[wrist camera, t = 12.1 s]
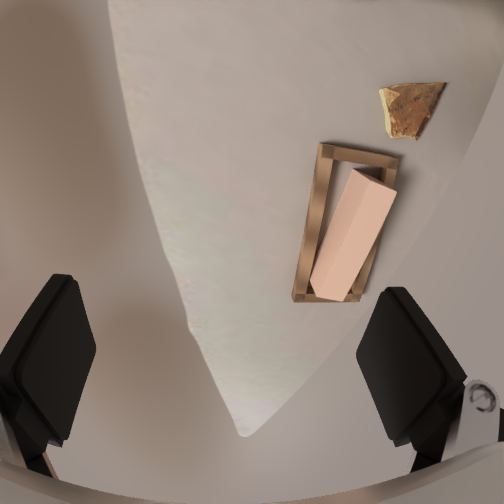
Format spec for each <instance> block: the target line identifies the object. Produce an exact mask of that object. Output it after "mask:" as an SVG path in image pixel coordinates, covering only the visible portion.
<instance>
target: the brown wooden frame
mask: <svg viewBox="0 0 504 504" xmlns="http://www.w3.org/2000/svg"><path fill="white" fill-rule="evenodd" d="M333 159H335V160H342V161H348V162H354V163H360V164H366V165H372V166H378V167H381V171H380V175H379V180H380V181H382V182H383V183H385V184H386V185H388V186H389V187H391V188H392V189H393V185H394V181H395V177H396V172H397V168H398V163H399V159H398V158H396V157H394V156H390V155H385V154H380V153H375V152H370V151H365V150H360V149H354V148H348V147H343V146H336V145H330V144H323V143H319V145H318V152H317V159H316V165H315V171H314V177H313V184H312V190H311V196H310V201H309V207H308V213H307V219H306V224H305V230H304V235H303V240H302V246H301V251H300V256H299V261H298V266H297V271H296V276H295V281H294V286H293V291H292V299H293V302H341V301H336V300H330V299H325V298H320V297H316V294H315V292H314V290H313V288H309V287H307V286H308V282H309V278H310V273H311V269H312V265H313V260H314V255H315V251H316V246H317V241H318V237H319V232H320V227H321V222H322V217H323V212H324V207H325V201H326V196H327V191H328V185H329V180H330V174H331V168H332V162H333ZM384 221H385V220H384ZM383 225H384V222H383ZM383 225H382V227H381V229H380V231H379V233H378V235H377V237H376V239H375V241H374V243H373V245H372V247H371V249H370V251H369V253H368V255H367V257H366V259H365V261H364V263H363V265H362V267H361V269H360V271H359V273H358V275H357V276H356V278H355V280H354V282H353V284H352V286H351V288H350V289H349V291H348V293H347V295H346V297H345V298H344V300H343V302H359V301H360V298H361V296H362V293H363V290H364V287H365V284H366V281H367V278H368V275H369V272H370V269H371V266H372V262H373V259H374V256H375V253H376V249H377V246H378V243H379V239H380V236H381V232H382V229H383Z"/></svg>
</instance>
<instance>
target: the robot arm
mask: <svg viewBox="0 0 504 504" xmlns="http://www.w3.org/2000/svg"><path fill="white" fill-rule="evenodd" d="M95 353H96V344H95V341H94V338H93V334H92V332H91V328H90V325H89V321H88V318H87V315H86V311H85V308H84V304H83V300H82V297H81V293H80V289H79V285H78V282H77V281H76V280H74V279H73V277H72V276H71V275H65V274H53V275H52V276H51V278H50V279H49V280H48V282H47V283H46V285H45V286H44V287H43V289H42V290H41V291H40V293H39V294H38V296H37V297H36V299H35V300H34V302H33V303H32V305H31V306H30V308H29V309H28V310H27V312H26V313H25V315H24V316H23V318H22V320H21V321H20V323H19V324H18V326H17V327H16V329H15V331H14V332H13V334H12V335H11V337H10V339H9V340H8V342H7V344H6V346H5V347H4V349H3V351H2V352H1V354H0V504H185V503H171V502H162V501H154V500H146V499H139V498H133V497H127V496H122V495H116V494H112V493H107V492H102V491H98V490H94V489H90V488H86V487H82V486H78V485H75V484H71V483H68V482H64V481H61V480H59V478H58V476H57V474H56V472H55V470H54V468H53V466H52V464H51V462H50V460H49V458H48V455H47V453H46V447H47V444H51V445H54V446H58V447H62V445H63V441H64V440H67V439H68V437H69V435H70V431H71V428H72V424H73V421H74V417H75V413H76V410H77V407H78V404H79V401H80V398H81V394H82V391H83V388H84V385H85V382H86V379H87V376H88V373H89V371H90V368H91V365H92V362H93V359H94V356H95ZM356 358H357V361H358V364H359V366H360V368H361V371H362V373H363V376H364V378H365V380H366V383H367V385H368V388H369V390H370V392H371V395H372V398H373V400H374V402H375V405H376V408H377V410H378V413H379V415H380V418H381V420H382V423H383V425H384V428H385V431H386V433H387V436H388V438H389V439H390V440H393V442H394V445H395V447H398V446H402V445H405V444H408V443H410V442H411V443H412V446H413V449H412V452H411V454H410V457H409V460H408V462H407V465H406V468H405V470H404V473H403V476H401V477H398V478H395V479H392V480H388V481H385V482H382V483H378V484H375V485H371V486H367V487H363V488H359V489H355V490H351V491H346V492H342V493H337V494H332V495H326V496H321V497H315V498H309V499H302V500H294V501H286V502H276V503H263V504H504V409H502V408H500V401H499V397H498V395H497V392H496V391H495V390H494V388H493V387H492V386H491V385H489V384H488V383H486V382H484V381H481V380H472V381H470V382H469V383H468V384H467V385H466V386H465V385H464V384H463V382H464V381H465V379H466V378H467V375H466V374H465V372H464V370H463V369H462V367H461V366H460V364H459V363H458V361H457V360H456V358H455V357H454V355H453V354H452V352H451V351H450V349H449V348H448V346H447V345H446V343H445V342H444V340H443V339H442V337H441V336H440V335H439V333H438V332H437V330H436V329H435V327H434V326H433V325H432V323H431V322H430V321H429V319H428V318H427V316H426V315H425V314H424V312H423V311H422V310H421V308H420V307H419V306H418V304H417V303H416V302H415V300H414V299H413V298H412V296H411V295H410V294H409V292H408V291H407V290H406V289H405V288H404V287H387V288H386V289H385V291H383V292H381V294H380V296H379V298H378V301H377V304H376V306H375V309H374V311H373V313H372V316H371V318H370V321H369V323H368V326H367V328H366V330H365V333H364V335H363V337H362V340H361V342H360V344H359V346H358V349H357V352H356Z"/></svg>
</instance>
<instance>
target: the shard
mask: <svg viewBox="0 0 504 504" xmlns="http://www.w3.org/2000/svg"><path fill="white" fill-rule="evenodd" d="M445 85H446V83H443V82H441V83H433V84H421V83H420V84H406V85H396V86H393V87H390V88H381V89H380V90H379V92H380V95H381V100H382V104H383V108H384V112H385V123H386V131H387V133H388V134H389V136H390V137H391V138H399V137H410V138H413V139H414V140H416V141H417V139H418V137H419V136H420V134H421V132H422V131H423V129H424V127H425V124H426V123H427V122H428V120H429V118H430V116H431V115H432V113H433V111H434V109H435V107H436V105H437V102H438V100H439V97H440V95H441V93H442V91H443V89H444V88H445Z"/></svg>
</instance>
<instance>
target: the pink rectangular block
mask: <svg viewBox="0 0 504 504" xmlns="http://www.w3.org/2000/svg"><path fill="white" fill-rule="evenodd" d="M396 194H397V191H395V190H394V189H392V188H391V187H389V186H388V185H386V184H385V183H383V182H382V181H380V180H378V179H377V178H374V177H372V176H369V175H367V174H365V173H362V172H360V171H357V170H355V169H352V172H351V174H350V177H349V179H348V182H347V184H346V186H345V189H344V191H343V194H342V196H341V199H340V201H339V203H338V206H337V208H336V210H335V213H334V215H333V217H332V220H331V222H330V224H329V227H328V229H327V231H326V234H325V236H324V238H323V240H322V243H321V245H320V247H319V249H318V252H317V254H316V256H315V258H314V260H313V265H312V269H311V273H310V278H309V280H310V282H311V285H312V287H313V290H314V292H315V294H316V297H320V298H325V299H330V300H336V301H341V302H343V300H344V298H345V297H346V295H347V293H348V291H349V289H350V288H351V286H352V284H353V282H354V280H355V278H356V276H357V275H358V273H359V271H360V269H361V267H362V265H363V263H364V261H365V259H366V257H367V255H368V253H369V251H370V249H371V247H372V245H373V243H374V241H375V239H376V237H377V235H378V233H379V231H380V229H381V227H382V225H383V222H384V220H385V218H386V216H387V214H388V212H389V209H390V207H391V205H392V203H393V201H394V198H395V196H396Z"/></svg>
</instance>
